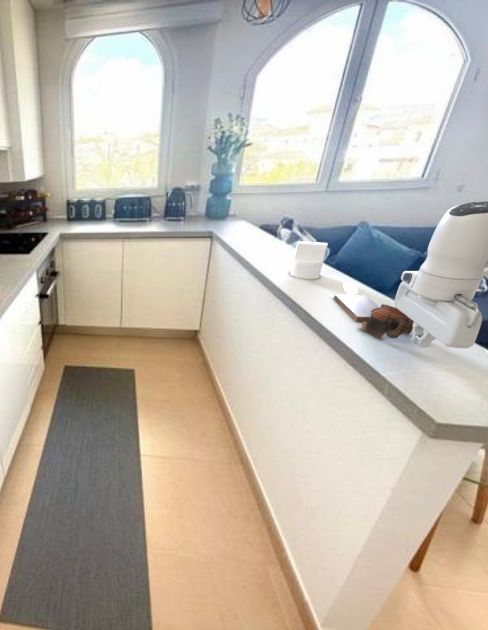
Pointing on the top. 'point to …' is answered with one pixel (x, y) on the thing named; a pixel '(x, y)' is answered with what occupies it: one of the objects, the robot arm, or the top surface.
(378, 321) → the pottery mug
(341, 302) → the cutting board
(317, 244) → the cylinder with rectangular tab
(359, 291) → the top surface
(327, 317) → the top surface
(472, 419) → the top surface
